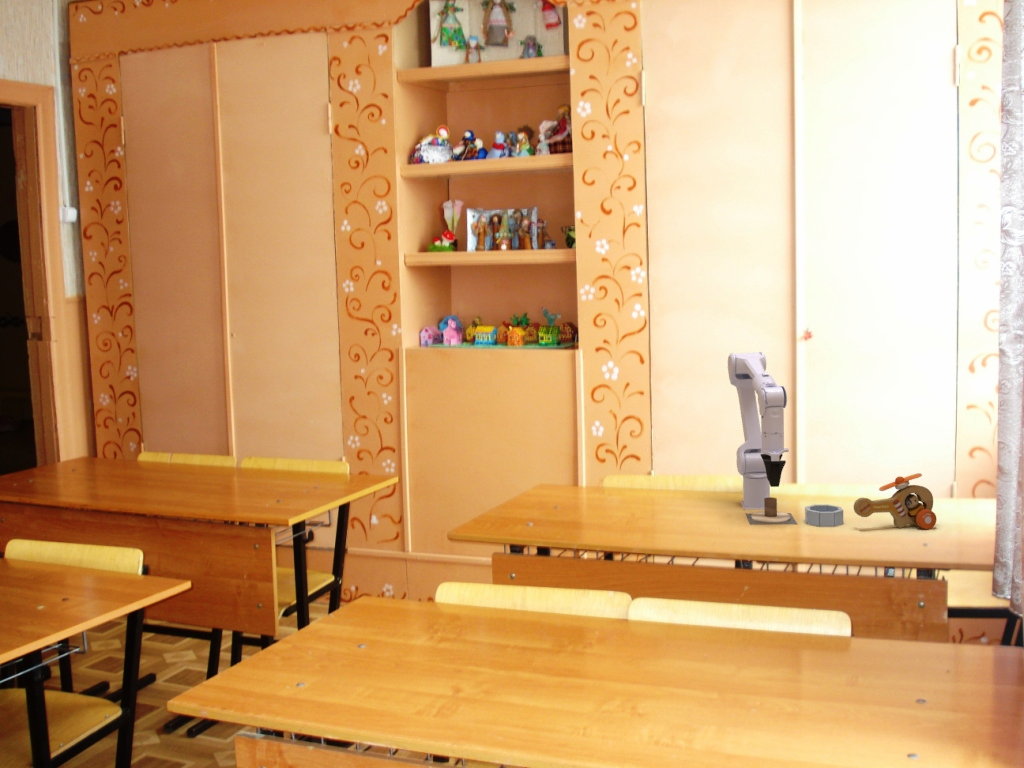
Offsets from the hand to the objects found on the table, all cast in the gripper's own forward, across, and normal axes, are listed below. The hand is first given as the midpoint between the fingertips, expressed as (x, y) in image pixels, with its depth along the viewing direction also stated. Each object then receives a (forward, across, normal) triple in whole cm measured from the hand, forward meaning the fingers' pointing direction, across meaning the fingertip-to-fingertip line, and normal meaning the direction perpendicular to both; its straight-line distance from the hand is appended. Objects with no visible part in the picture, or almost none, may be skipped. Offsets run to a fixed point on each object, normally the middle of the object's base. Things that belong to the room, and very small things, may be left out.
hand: (773, 483), depth 261 cm
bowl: (+10, -3, -12) cm, 16 cm away
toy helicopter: (+10, -6, -30) cm, 32 cm away
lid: (+10, +1, +1) cm, 10 cm away
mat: (+10, +1, +1) cm, 10 cm away
